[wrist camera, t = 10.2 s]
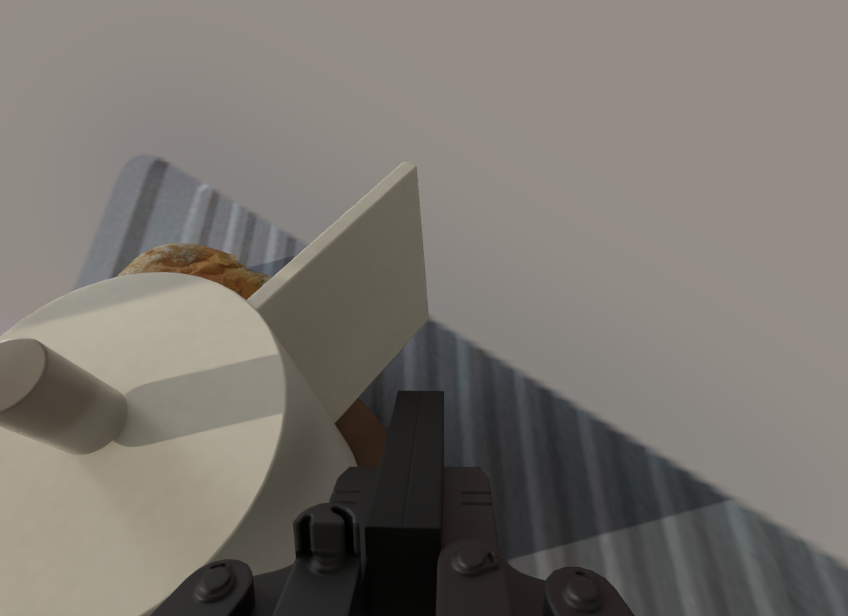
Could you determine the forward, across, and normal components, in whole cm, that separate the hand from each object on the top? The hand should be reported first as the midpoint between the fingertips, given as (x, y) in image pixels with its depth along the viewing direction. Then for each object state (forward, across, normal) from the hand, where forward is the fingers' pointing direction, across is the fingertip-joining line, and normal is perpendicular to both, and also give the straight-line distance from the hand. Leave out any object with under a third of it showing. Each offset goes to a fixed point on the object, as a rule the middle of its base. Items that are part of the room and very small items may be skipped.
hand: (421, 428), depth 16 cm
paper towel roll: (+7, -5, -6) cm, 10 cm away
